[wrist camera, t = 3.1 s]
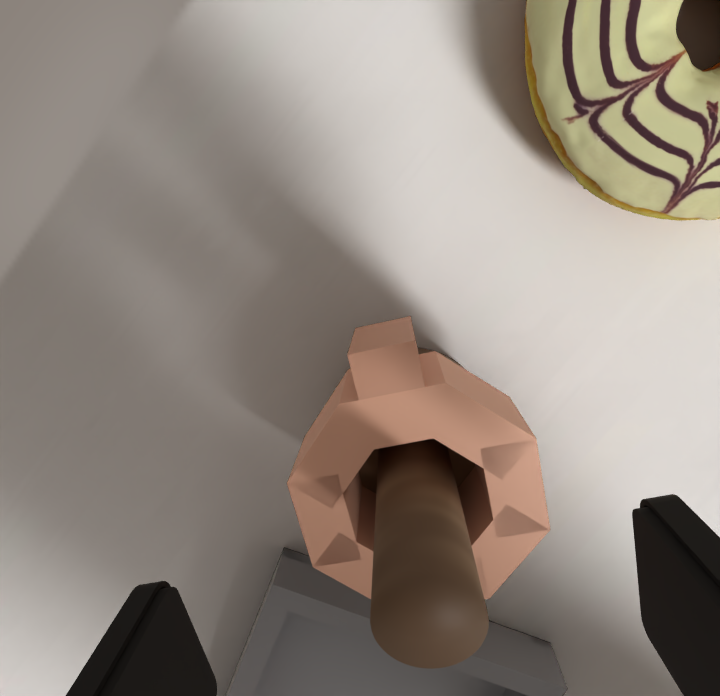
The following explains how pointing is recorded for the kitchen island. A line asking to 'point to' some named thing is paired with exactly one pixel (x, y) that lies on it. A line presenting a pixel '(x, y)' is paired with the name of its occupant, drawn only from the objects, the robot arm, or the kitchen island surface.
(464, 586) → the rod
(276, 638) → the tray
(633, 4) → the decorated donut
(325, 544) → the ring
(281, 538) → the kitchen island surface
